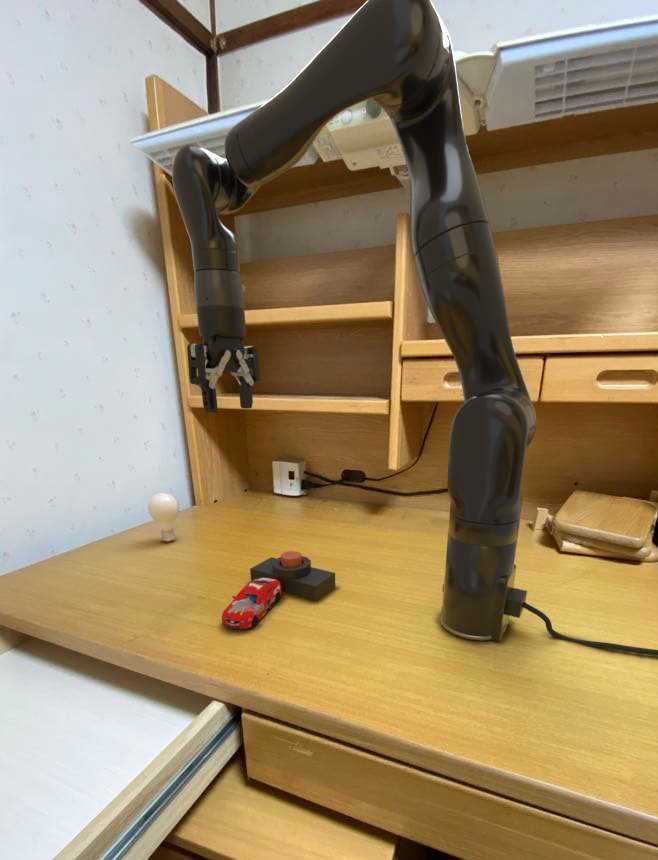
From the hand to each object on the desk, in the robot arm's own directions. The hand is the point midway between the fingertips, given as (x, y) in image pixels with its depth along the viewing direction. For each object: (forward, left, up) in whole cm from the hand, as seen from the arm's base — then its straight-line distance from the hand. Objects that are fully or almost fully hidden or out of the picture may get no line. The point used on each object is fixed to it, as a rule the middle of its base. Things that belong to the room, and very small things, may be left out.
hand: (229, 410), depth 80 cm
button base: (-14, +3, -29) cm, 32 cm away
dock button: (-14, +3, -25) cm, 29 cm away
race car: (-14, +13, -29) cm, 35 cm away
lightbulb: (+23, -1, -29) cm, 37 cm away
